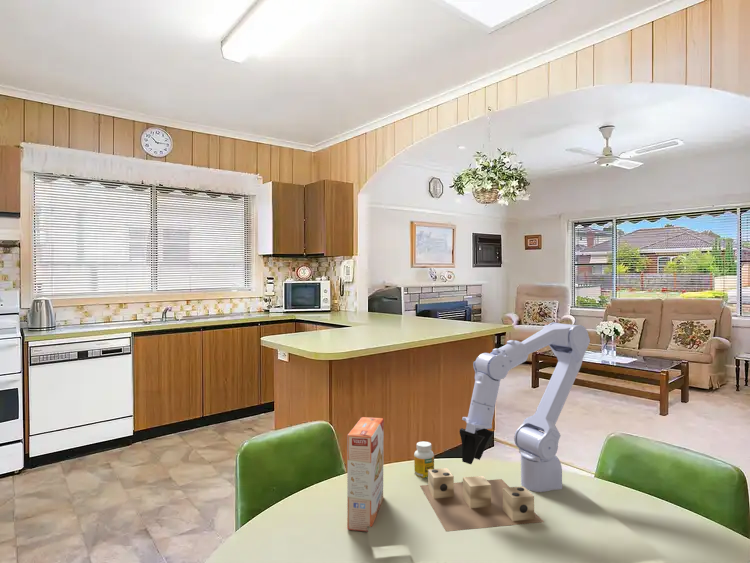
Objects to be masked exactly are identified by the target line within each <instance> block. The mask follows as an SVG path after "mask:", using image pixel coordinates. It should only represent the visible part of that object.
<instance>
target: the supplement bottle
mask: <svg viewBox="0 0 750 563" xmlns="http://www.w3.org/2000/svg"><path fill="white" fill-rule="evenodd" d="M413 460H414V461H413V463H414V465H413V466H414V476H416V477H418V478H422V479H424V478H426V479H428V469H435V454H434V452H433V450H432V443H431V442H430V441H418V442H416V450H415V451H414V454H413Z"/></svg>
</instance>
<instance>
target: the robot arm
mask: <svg viewBox="0 0 750 563" xmlns="http://www.w3.org/2000/svg"><path fill="white" fill-rule="evenodd" d="M590 342H591V339H590V334H589V332H588V330H587V328H586V327H585V326H584V325H582V324H569V323H559V322H555V321H552V322H550V323H549V324H545V325H543V327H542V329H541V330H539V331H537V332H535V333H534V334H532V335H530V336H529V337H527V338H525V339H524V340H522V341H519V340H513V339H509V340H507V341H506V344H505V345H503V346H500V347H499V348H493V349H492V351H491V352H490V353H489V352H483V353H480V354H479V355H478V356H477V357H476V359H475V361H473V364H472V366H473V370H474V385H473V390H472V394H471V400H470V404H469V409H468V413H467V416H462V419H461V420H462V421H465V423H466V427H465V428H462V427H461V428H459V435H460V439H461V460H462V462H463V463H465V464H468V465H472V464H473V462H474V460H479V461H480V460H481V458H482V456H483V454H484V451H485V450H486V449H485V448H486V447H487V445H488V443H489V441H491V440H490V439H491V438H492V437H493V436H494V435H495V431H493V430H492V428H493V424H492V423H493V420H494V414H495V409H496V403H497V399H498V394H499V390H500V384H501V380H504V379H505V378H506V377H507V375H508V373H509V371H511V370H512V369H514V368H515V367H517V366H519V365H521V364H523V363H525V362H526V361H527V360H528V357H529V355H530V354H533V353H534V352H536V351H539V350H541V349H543V348H546V347H547V346H548V347H549V348H550V350H551V352H552V353H553V354H554V356H555V357H556V360H557V363H556V366H555V367H554V370H553V372H552V374H551V377H550V379H549V381H548V383H547V385H546V388H545V390H544V393H543V394H542V397H541V399H540V401H539V404H538V405H537V407H536V411H535V412H534V414H533V415H529V416H528V417H526V418H524V420H523V422H522V423H521V424H520V426H519V427H518V428H516V430H515V433H514V437H513V439H514V444H515V446H516V447H517V448H518V453H519V454H520V485H521V486H524V487H525V488H526V489H527V490H528V491H532V492H537V493H545V492H549V491H556V490H563V467H562V464H561V460H560V459H559V458H558V456H557V455H556V454H557V452H558V450H559V449H558V448H559V441H560V438H561V433H560V431H559V429H558V427H557V425H556V423H557V422H558V419H559V417H560V415H561V413H562V411H563V408H564V405H565V403H566V401H567V399H568V397H569V395H570V393H571V392H570V391H571V389H572V388H573V385H574V383H575V380H576V378H577V377H578V374H579V372H580V369H581V367H582V365H583V360H584V356H585V354H586V352H587V350H588V347H589V345H590Z"/></svg>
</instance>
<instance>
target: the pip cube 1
mask: <svg viewBox="0 0 750 563" xmlns="http://www.w3.org/2000/svg"><path fill="white" fill-rule="evenodd" d="M454 478H455V477H454V475H453V474H452V473H451V470H449V468H448V467H443V468H434V469H428V478H427V485H428V490H429V492H430V493H431V495H432V497H433V498H434V499H435V498H447V497H454V483H455V481H454V480H455V479H454Z"/></svg>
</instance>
